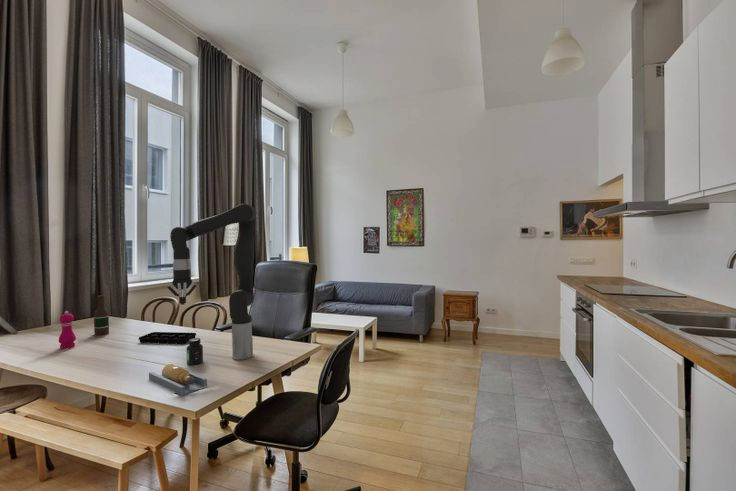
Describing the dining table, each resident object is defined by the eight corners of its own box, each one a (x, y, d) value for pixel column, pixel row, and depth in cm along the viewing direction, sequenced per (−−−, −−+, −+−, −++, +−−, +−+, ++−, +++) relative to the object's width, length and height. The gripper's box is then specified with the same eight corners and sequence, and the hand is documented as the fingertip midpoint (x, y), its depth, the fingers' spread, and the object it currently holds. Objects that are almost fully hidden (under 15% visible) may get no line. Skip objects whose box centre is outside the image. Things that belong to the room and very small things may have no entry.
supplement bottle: (186, 368, 160) (185, 342, 160) (187, 363, 166) (186, 338, 166) (203, 366, 163) (202, 340, 163) (203, 361, 169) (202, 336, 169)
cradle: (149, 381, 146) (148, 372, 146) (173, 373, 155) (173, 365, 154) (181, 396, 131) (181, 387, 131) (207, 387, 140) (206, 378, 139)
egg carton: (188, 345, 197) (188, 338, 197) (131, 347, 195) (131, 340, 195) (200, 336, 215) (200, 330, 214) (149, 338, 212) (148, 331, 212)
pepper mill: (78, 346, 196) (77, 310, 195) (63, 350, 189) (62, 312, 189) (71, 344, 199) (70, 309, 198) (55, 348, 192) (54, 311, 192)
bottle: (178, 366, 150) (201, 375, 140) (170, 379, 148) (193, 390, 137) (166, 362, 146) (189, 371, 136) (159, 375, 144) (181, 386, 134)
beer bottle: (97, 336, 216) (96, 296, 215) (91, 334, 220) (90, 295, 219) (111, 333, 222) (110, 295, 222) (106, 331, 226) (105, 294, 226)
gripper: (165, 269, 164) (166, 307, 165) (197, 268, 170) (197, 304, 170) (166, 268, 171) (167, 304, 172) (197, 267, 177) (198, 302, 177)
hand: (182, 304), depth 171 cm, fingers closed
